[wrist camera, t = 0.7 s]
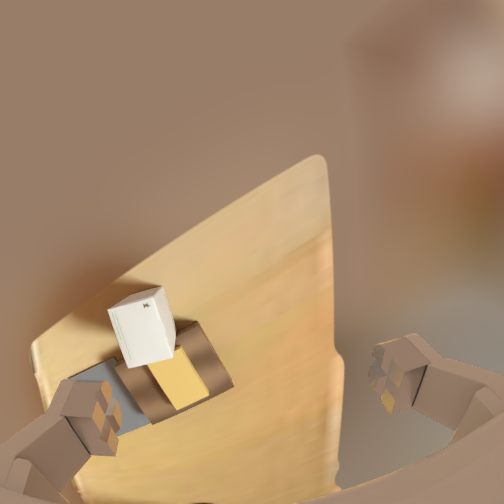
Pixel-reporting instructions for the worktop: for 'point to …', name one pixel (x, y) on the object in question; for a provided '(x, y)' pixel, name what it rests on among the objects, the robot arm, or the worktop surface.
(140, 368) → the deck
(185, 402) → the yellow rectangular block
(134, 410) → the mat
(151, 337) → the skincare box
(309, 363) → the worktop surface
